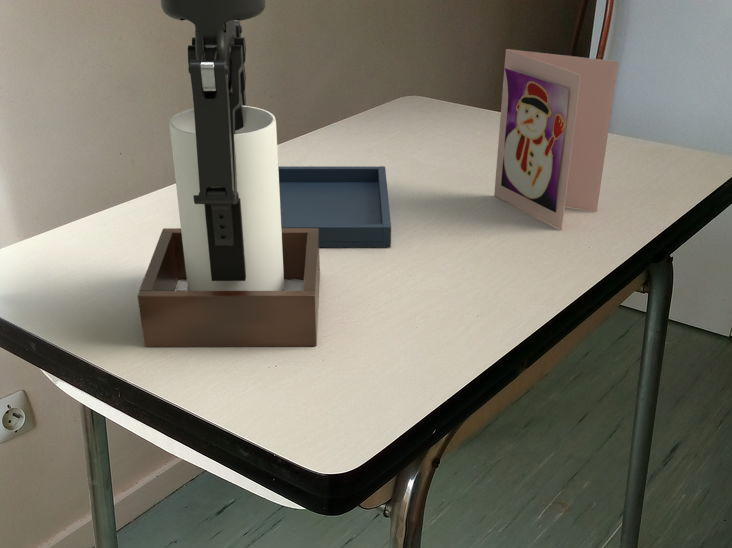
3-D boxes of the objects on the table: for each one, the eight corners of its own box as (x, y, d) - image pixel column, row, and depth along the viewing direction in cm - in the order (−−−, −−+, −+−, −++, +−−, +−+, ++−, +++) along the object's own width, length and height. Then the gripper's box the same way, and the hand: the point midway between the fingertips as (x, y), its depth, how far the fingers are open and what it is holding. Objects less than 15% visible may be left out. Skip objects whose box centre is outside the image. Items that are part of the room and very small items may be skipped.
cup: (225, 339, 83) (207, 143, 73) (172, 305, 88) (148, 117, 78) (304, 310, 87) (297, 121, 78) (248, 280, 92) (235, 98, 83)
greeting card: (487, 196, 110) (499, 50, 101) (541, 184, 113) (556, 41, 104) (554, 231, 102) (573, 76, 93) (610, 217, 105) (633, 66, 96)
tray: (210, 247, 98) (208, 227, 97) (227, 185, 112) (225, 166, 111) (390, 247, 98) (391, 227, 97) (384, 185, 113) (385, 166, 111)
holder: (144, 347, 82) (137, 296, 79) (168, 274, 93) (162, 227, 90) (316, 346, 82) (315, 295, 79) (319, 274, 93) (318, 227, 91)
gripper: (251, -19, 63) (271, 312, 76) (271, -69, 80) (284, 210, 93) (130, -20, 63) (171, 312, 76) (176, -70, 79) (203, 210, 93)
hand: (233, 256), depth 85 cm, fingers closed on cup, 8 cm apart
